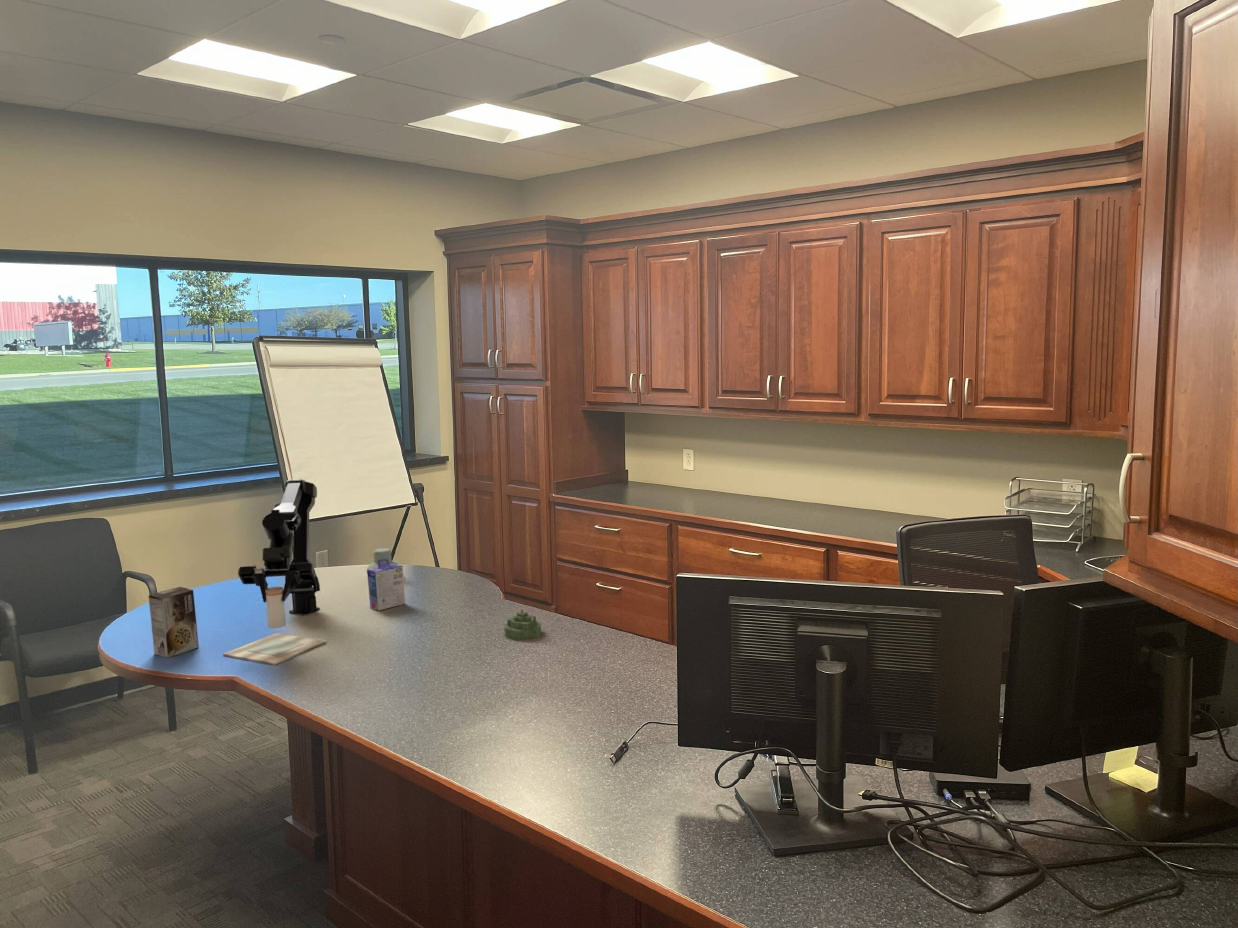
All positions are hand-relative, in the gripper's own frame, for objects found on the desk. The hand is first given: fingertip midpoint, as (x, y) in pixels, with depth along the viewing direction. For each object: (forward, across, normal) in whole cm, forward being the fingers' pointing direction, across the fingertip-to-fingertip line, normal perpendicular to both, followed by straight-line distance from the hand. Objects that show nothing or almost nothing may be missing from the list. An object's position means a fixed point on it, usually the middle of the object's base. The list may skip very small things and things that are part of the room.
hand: (273, 601), depth 235 cm
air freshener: (-40, +20, +60) cm, 74 cm away
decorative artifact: (+9, +65, +10) cm, 66 cm away
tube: (+4, 0, +6) cm, 7 cm away
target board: (+9, -1, +10) cm, 14 cm away
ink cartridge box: (-16, +24, +35) cm, 46 cm away
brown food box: (+6, -27, +13) cm, 31 cm away
